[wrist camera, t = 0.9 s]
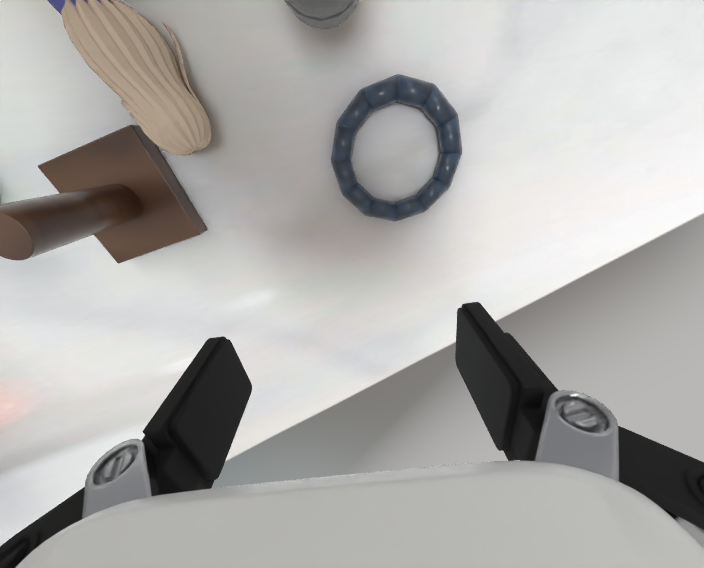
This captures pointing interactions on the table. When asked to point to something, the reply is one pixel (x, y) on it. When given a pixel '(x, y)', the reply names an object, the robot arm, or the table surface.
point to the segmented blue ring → (382, 96)
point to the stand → (103, 202)
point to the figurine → (138, 71)
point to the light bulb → (322, 11)
